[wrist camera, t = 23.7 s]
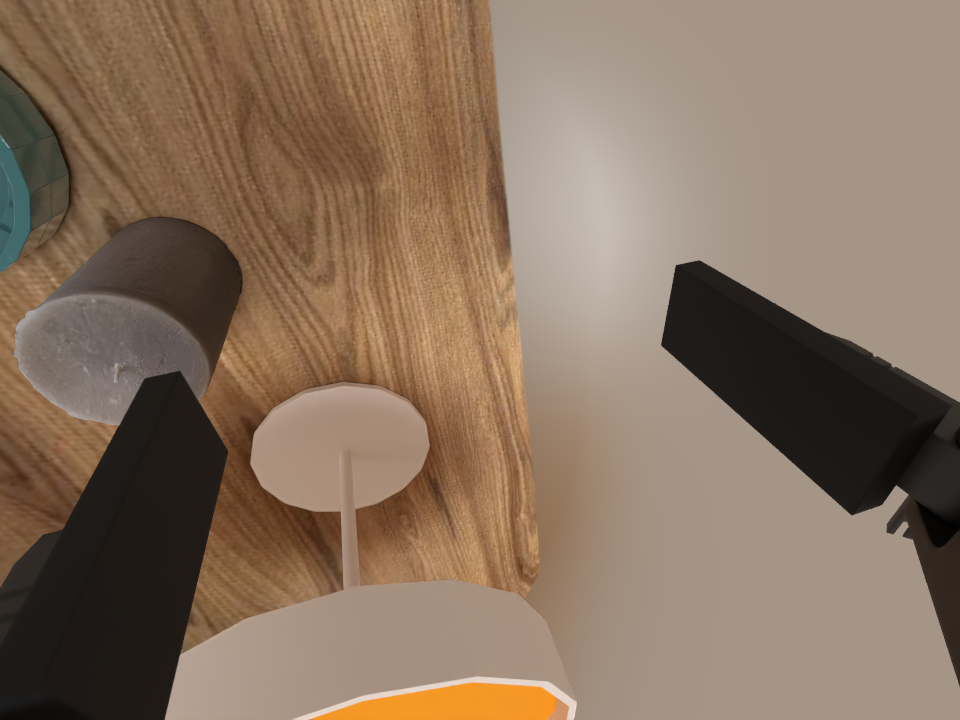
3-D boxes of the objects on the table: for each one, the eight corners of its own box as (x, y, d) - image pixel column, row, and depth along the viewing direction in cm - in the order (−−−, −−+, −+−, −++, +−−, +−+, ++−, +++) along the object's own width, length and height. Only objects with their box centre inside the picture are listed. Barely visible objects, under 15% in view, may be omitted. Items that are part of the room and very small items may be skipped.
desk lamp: (490, 478, 64) (595, 754, 39) (286, 560, 61) (260, 908, 37) (424, 302, 46) (543, 606, 21) (132, 408, 43) (-124, 891, 19)
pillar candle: (263, 260, 39) (237, 354, 27) (211, 343, 42) (166, 460, 30) (135, 189, 34) (33, 268, 22) (85, 289, 37) (-30, 407, 25)
